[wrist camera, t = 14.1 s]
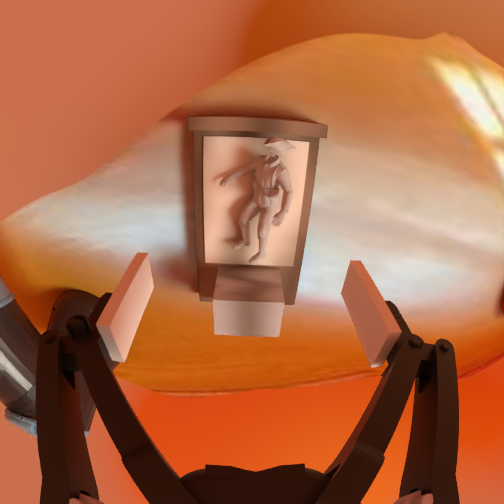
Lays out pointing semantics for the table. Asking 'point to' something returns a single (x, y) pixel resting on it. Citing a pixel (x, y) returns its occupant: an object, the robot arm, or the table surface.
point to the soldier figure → (264, 194)
